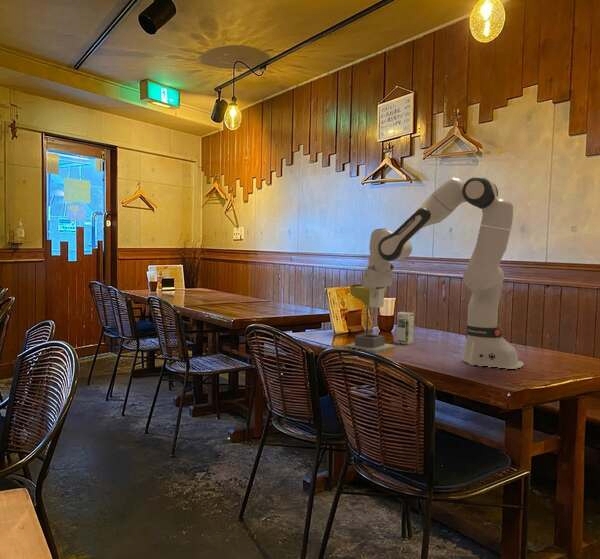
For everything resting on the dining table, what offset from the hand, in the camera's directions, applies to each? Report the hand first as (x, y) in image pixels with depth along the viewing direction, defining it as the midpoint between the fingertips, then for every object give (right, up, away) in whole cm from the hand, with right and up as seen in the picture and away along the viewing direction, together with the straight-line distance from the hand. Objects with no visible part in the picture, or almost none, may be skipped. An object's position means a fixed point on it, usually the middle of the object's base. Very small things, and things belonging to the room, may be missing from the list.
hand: (376, 297), depth 217 cm
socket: (-3, -22, +3) cm, 23 cm away
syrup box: (+15, -22, +14) cm, 30 cm away
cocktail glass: (0, -21, +32) cm, 38 cm away
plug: (0, -4, 0) cm, 4 cm away
